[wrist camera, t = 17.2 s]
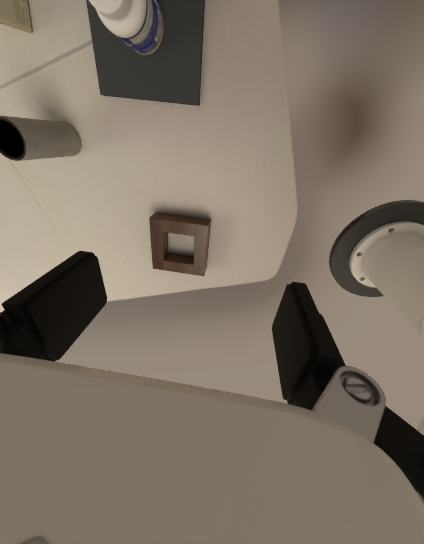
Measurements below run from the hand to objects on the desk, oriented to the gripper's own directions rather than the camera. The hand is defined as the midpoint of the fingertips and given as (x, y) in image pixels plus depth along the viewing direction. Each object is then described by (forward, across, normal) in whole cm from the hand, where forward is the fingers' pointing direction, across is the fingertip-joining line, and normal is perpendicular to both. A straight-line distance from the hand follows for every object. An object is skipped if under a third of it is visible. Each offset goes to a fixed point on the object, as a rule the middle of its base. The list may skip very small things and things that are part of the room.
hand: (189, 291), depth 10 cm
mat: (+28, +12, -17) cm, 35 cm away
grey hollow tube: (+28, +26, -4) cm, 39 cm away
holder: (+28, +7, +11) cm, 31 cm away
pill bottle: (+28, +12, -17) cm, 35 cm away
